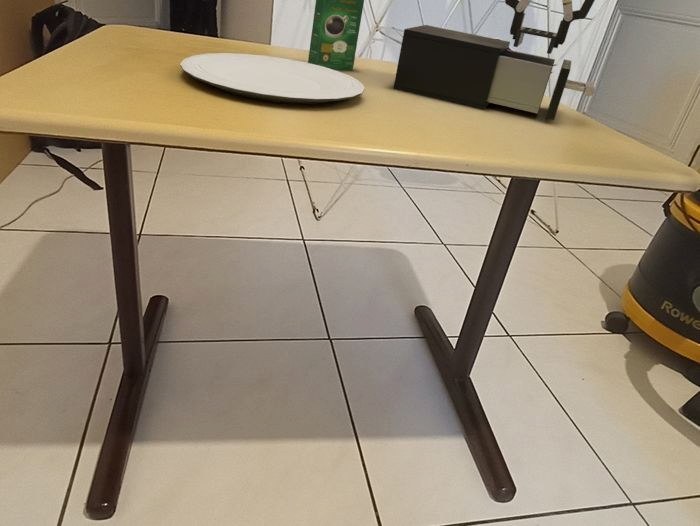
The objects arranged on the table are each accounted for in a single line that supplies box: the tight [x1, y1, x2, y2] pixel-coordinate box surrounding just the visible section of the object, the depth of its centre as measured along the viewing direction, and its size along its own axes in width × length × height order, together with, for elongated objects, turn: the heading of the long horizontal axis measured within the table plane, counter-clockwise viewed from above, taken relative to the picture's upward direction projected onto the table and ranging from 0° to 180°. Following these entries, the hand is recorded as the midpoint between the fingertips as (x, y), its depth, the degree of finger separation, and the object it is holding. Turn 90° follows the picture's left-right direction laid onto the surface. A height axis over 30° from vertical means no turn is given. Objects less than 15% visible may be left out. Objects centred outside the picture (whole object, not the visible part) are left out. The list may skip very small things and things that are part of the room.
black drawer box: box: [393, 24, 511, 111], centre depth 90 cm, size 15×14×9 cm
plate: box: [179, 52, 365, 105], centre depth 77 cm, size 25×25×2 cm
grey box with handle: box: [487, 49, 595, 121], centre depth 87 cm, size 18×12×7 cm
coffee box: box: [307, 0, 365, 72], centre depth 92 cm, size 8×3×13 cm, turn 125°
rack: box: [512, 26, 557, 55], centre depth 84 cm, size 6×8×2 cm
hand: (535, 42), depth 85 cm, fingers closed on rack, 5 cm apart
